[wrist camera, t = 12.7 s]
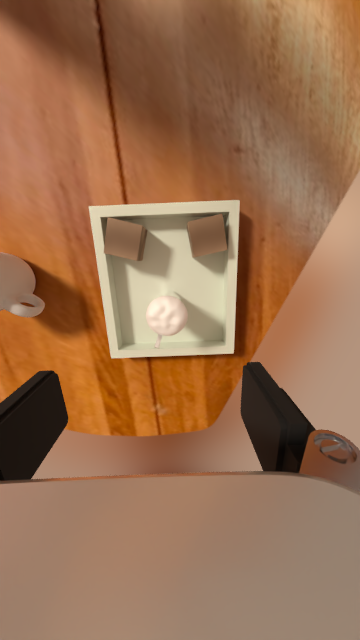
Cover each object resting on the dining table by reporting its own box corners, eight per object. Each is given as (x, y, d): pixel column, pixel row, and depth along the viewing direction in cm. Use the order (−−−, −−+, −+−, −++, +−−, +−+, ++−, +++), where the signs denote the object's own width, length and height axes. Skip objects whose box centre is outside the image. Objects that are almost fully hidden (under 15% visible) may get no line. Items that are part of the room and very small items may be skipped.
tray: (98, 211, 27) (88, 206, 25) (233, 206, 27) (239, 199, 24) (117, 349, 33) (111, 358, 30) (229, 345, 33) (233, 353, 30)
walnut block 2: (186, 226, 27) (187, 221, 24) (216, 220, 27) (222, 213, 23) (192, 257, 29) (194, 257, 25) (220, 251, 28) (227, 249, 24)
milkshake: (148, 315, 31) (135, 341, 21) (159, 281, 29) (151, 292, 20) (176, 325, 31) (176, 354, 22) (189, 292, 30) (195, 308, 20)
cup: (71, 283, 30) (35, 291, 22) (47, 325, 32) (5, 346, 24) (1, 236, 28) (-66, 228, 21) (-21, 283, 30) (-89, 292, 22)
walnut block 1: (117, 222, 27) (107, 217, 23) (147, 230, 28) (142, 225, 24) (113, 253, 28) (103, 253, 25) (142, 260, 29) (136, 260, 25)
